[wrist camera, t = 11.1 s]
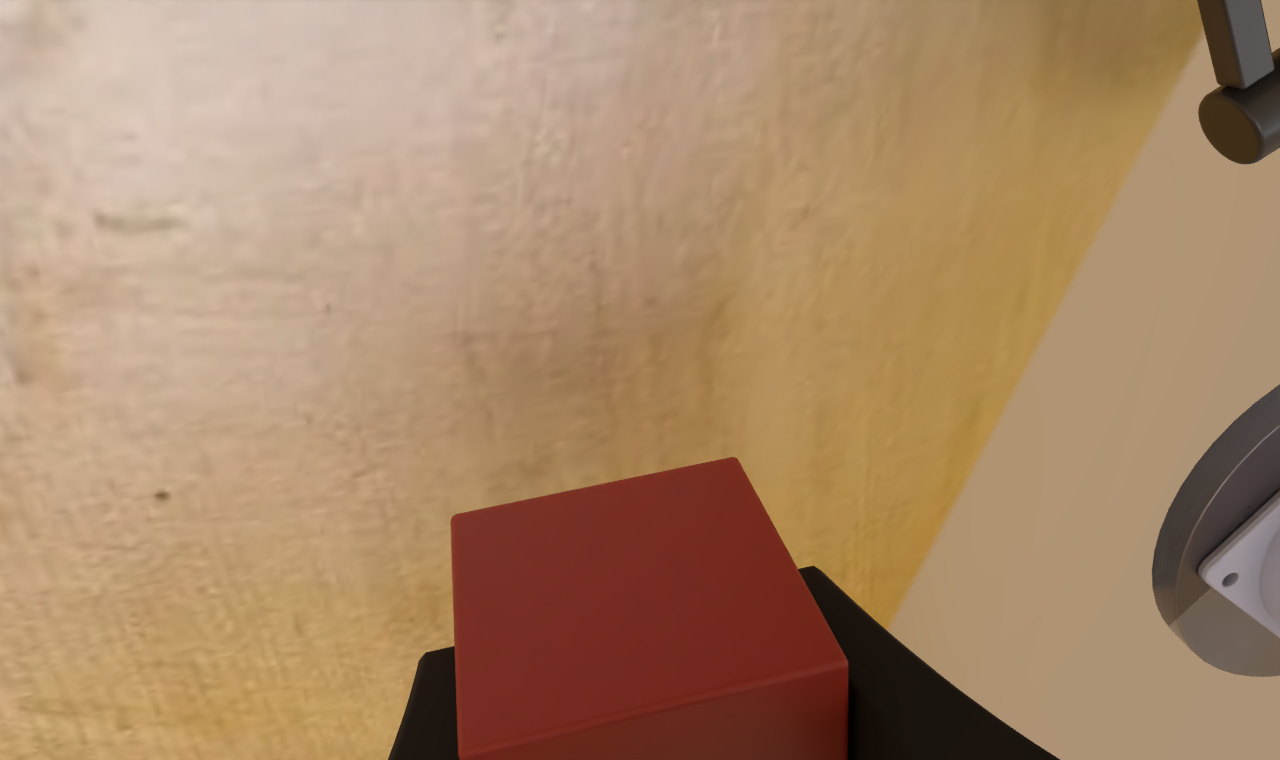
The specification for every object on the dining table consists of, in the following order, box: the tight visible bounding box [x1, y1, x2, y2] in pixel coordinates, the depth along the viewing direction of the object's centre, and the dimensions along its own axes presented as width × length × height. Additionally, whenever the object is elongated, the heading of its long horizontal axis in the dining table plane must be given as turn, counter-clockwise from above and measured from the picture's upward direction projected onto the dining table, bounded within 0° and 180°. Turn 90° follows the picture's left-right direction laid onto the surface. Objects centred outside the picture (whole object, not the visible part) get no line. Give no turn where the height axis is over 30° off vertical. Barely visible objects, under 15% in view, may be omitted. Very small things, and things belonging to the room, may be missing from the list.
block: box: [451, 457, 848, 760], centre depth 12 cm, size 4×4×4 cm
